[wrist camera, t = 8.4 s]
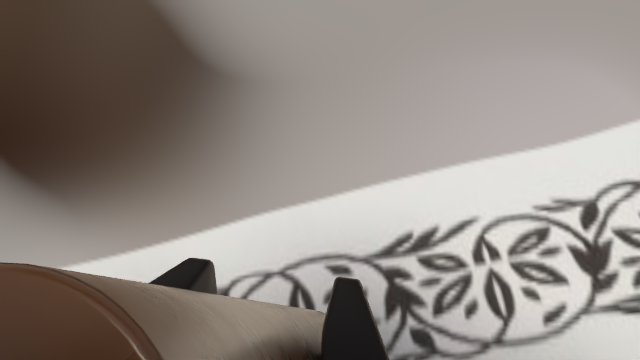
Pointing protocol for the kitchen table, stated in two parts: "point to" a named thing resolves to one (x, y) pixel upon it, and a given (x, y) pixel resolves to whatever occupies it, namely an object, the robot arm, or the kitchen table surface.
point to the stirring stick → (142, 321)
